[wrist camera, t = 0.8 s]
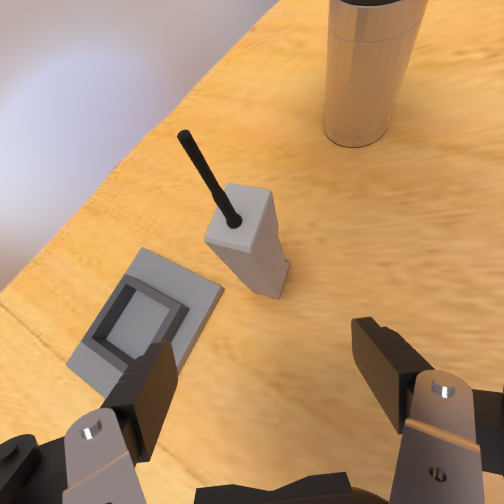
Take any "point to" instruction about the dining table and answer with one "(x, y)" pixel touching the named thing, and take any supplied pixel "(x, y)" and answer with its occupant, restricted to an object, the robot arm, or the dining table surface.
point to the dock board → (144, 319)
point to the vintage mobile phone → (243, 229)
